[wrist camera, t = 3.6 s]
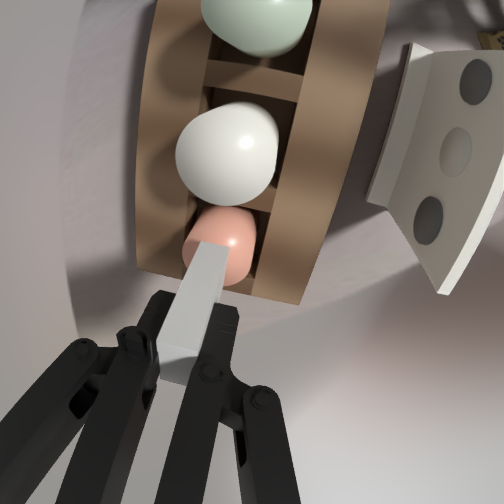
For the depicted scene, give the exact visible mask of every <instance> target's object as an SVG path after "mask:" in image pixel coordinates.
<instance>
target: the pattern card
mask: <svg viewBox="0 0 504 504" xmlns="http://www.w3.org/2000/svg"><path fill="white" fill-rule="evenodd" d="M503 191H504V50H463V51H446V52H432V51H430V50H428V49H426V48H424V47H422V46H420V45H418V44H416V43H414V42H413V43H410V46H409V51H408V55H407V60H406V64H405V68H404V72H403V76H402V80H401V84H400V88H399V92H398V96H397V99H396V103H395V107H394V110H393V114H392V117H391V120H390V124H389V127H388V131H387V134H386V137H385V140H384V143H383V147H382V150H381V153H380V156H379V159H378V162H377V165H376V168H375V171H374V174H373V177H372V180H371V183H370V185H369V188H368V191H367V194H366V197H365V200H366V201H367V202H370V203H373V204H376V205H380V206H383V207H386V208H387V209H388V211H389V212H390V214H391V215H392V217H393V218H394V220H395V222H396V223H397V225H398V226H399V228H400V229H401V231H402V233H403V234H404V236H405V237H406V239H407V241H408V242H409V244H410V246H411V247H412V249H413V251H414V252H415V254H416V256H417V258H418V259H419V261H420V263H421V265H422V266H423V268H424V270H425V272H426V273H427V275H428V277H429V279H430V281H431V283H432V285H433V286H434V288H435V290H436V292H437V293H440V294H444V295H449V294H450V292H451V291H452V289H453V287H454V286H455V284H456V283H457V281H458V279H459V278H460V276H461V274H462V273H463V271H464V269H465V268H466V266H467V264H468V262H469V261H470V259H471V257H472V255H473V254H474V252H475V250H476V248H477V246H478V244H479V242H480V240H481V238H482V236H483V235H484V233H485V231H486V229H487V226H488V224H489V222H490V220H491V218H492V216H493V214H494V212H495V209H496V207H497V205H498V202H499V200H500V198H501V195H502V193H503Z"/></svg>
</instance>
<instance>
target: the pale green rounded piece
mask: <svg viewBox="0 0 504 504" xmlns="http://www.w3.org/2000/svg"><path fill="white" fill-rule="evenodd" d="M201 11H202V15H203V18H204V20H205V22H206V24H207V25H208V27H209V28H210V29H211V30H212V31H213V32H214V33H215V34H216V35H217V36H218V37H220V38H221V39H223V40H225V41H226V42H228V43H229V44H231V45H233V46H234V47H236V48H237V49H239V50H240V51H242V52H243V53H245V54H247V55H250V56H253V57H257V58H274V57H278V56H281V55H284V54H286V53H288V52H289V51H291V50H292V49H293V48H295V47H296V45H297V44H298V43H299V42H300V40H301V38H302V36H303V33H304V31H305V28H306V25H307V22H308V20H309V17H310V14H311V11H312V0H201Z"/></svg>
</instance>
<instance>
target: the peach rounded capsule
mask: <svg viewBox="0 0 504 504" xmlns="http://www.w3.org/2000/svg"><path fill="white" fill-rule="evenodd" d="M258 226H259V214H258V211H257V210H256V209H252V208H247V207H243V206H238V205H234V206H221V205H216V204H212V203H209V202H208V203H207V204H206V206H205V208H204V209H203V211H202V213H201V215H200V216H199V218H198V220H197V221H196V223H195V225H194V227H193V228H192V230H191V232H190V233H189V235H188V237H187V239H186V240H185V242H184V245H183V249H182V257H183V261H184V264H185V266H186V267H187V269H188V268H189V265H190V263H191V261H192V259H193V257H194V255H195V253H196V251H197V248H198V246H199V244H200V242H201V241H204V242H209V243H213V244H218V245H222V246H227V247H230V249H229V255H228V261H227V266H226V272H225V278H224V284H223V286H230V285H233V284H236V283H238V282H240V281H241V280H242V279H244V278H245V277H246V275H247V274H248V272H249V270H250V267H251V263H252V257H253V252H254V247H255V242H256V236H257V231H258Z"/></svg>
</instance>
